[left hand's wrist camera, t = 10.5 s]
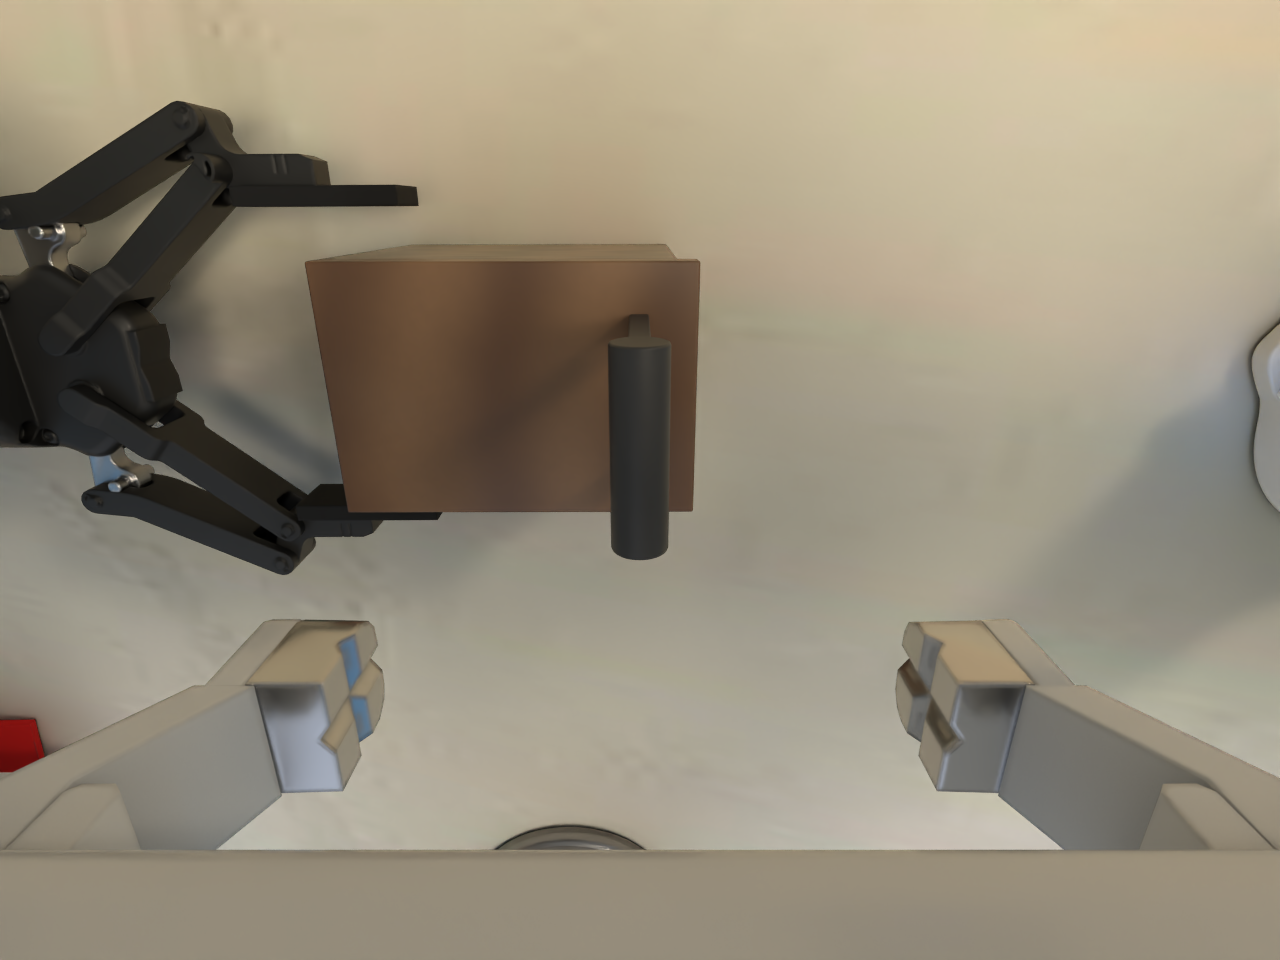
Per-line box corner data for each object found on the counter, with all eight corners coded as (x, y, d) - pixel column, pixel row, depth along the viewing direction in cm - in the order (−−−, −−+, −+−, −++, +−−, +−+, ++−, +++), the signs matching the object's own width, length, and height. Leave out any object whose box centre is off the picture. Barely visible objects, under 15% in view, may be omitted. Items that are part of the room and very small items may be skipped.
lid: (698, 258, 25) (724, 281, 17) (690, 502, 28) (710, 609, 21) (316, 259, 25) (174, 282, 17) (357, 502, 28) (254, 611, 21)
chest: (666, 244, 35) (678, 258, 25) (664, 423, 39) (673, 501, 28) (411, 244, 35) (317, 259, 25) (432, 424, 39) (358, 502, 28)
